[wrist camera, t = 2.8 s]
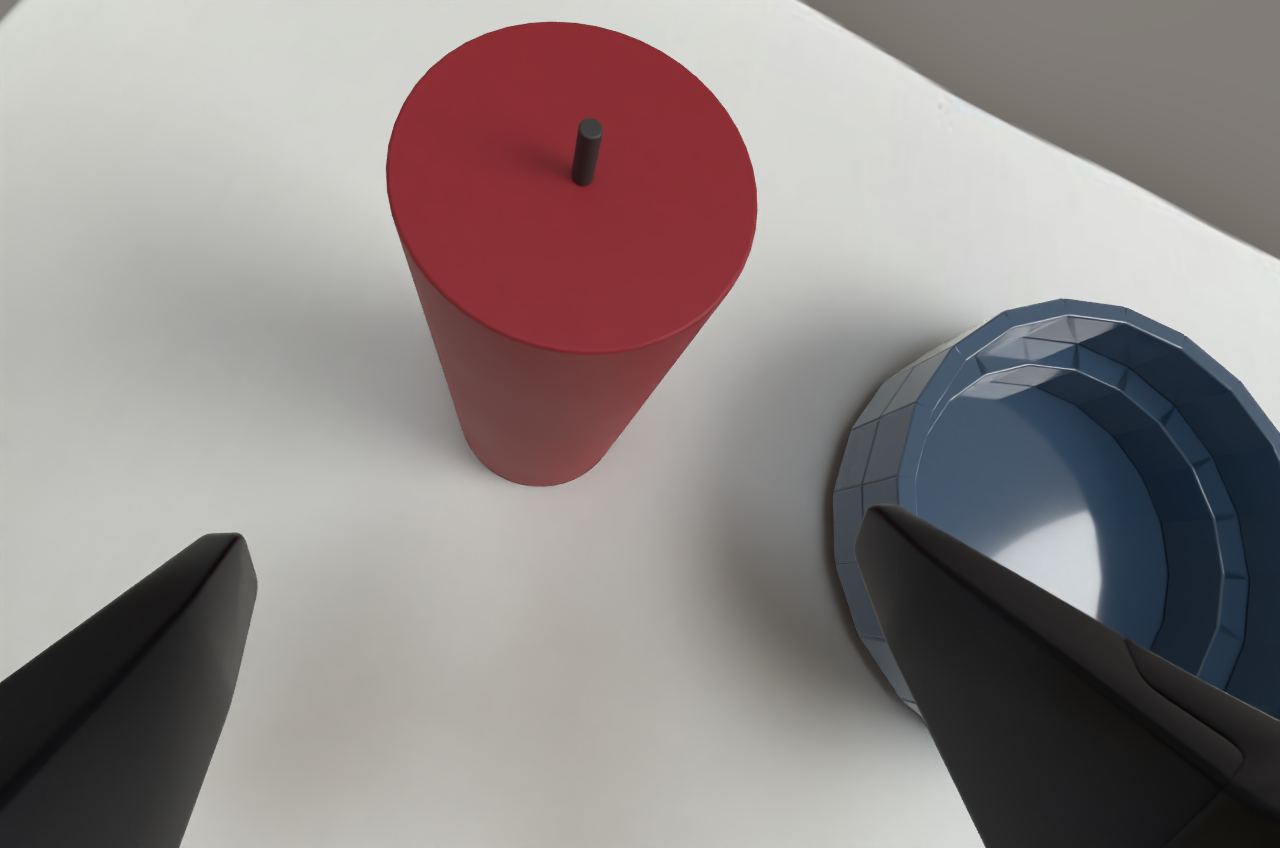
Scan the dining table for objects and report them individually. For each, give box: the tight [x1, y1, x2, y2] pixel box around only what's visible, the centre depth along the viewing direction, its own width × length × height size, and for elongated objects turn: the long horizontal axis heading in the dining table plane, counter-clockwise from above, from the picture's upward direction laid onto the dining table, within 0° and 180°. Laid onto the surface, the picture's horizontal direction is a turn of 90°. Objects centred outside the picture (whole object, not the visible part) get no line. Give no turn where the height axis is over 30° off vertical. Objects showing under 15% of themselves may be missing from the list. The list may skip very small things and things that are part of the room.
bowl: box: [833, 299, 1280, 720], centre depth 21 cm, size 14×14×4 cm
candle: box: [386, 22, 757, 486], centre depth 14 cm, size 5×5×14 cm
